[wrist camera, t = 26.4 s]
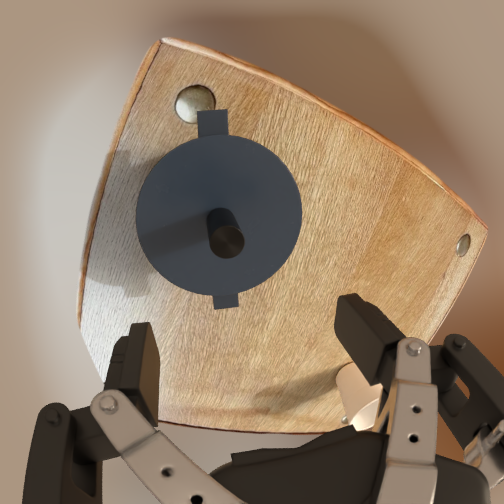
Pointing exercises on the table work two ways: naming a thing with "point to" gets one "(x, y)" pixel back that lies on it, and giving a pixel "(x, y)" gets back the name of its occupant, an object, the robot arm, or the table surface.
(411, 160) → the table surface
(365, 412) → the cup
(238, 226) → the lid
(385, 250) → the table surface
